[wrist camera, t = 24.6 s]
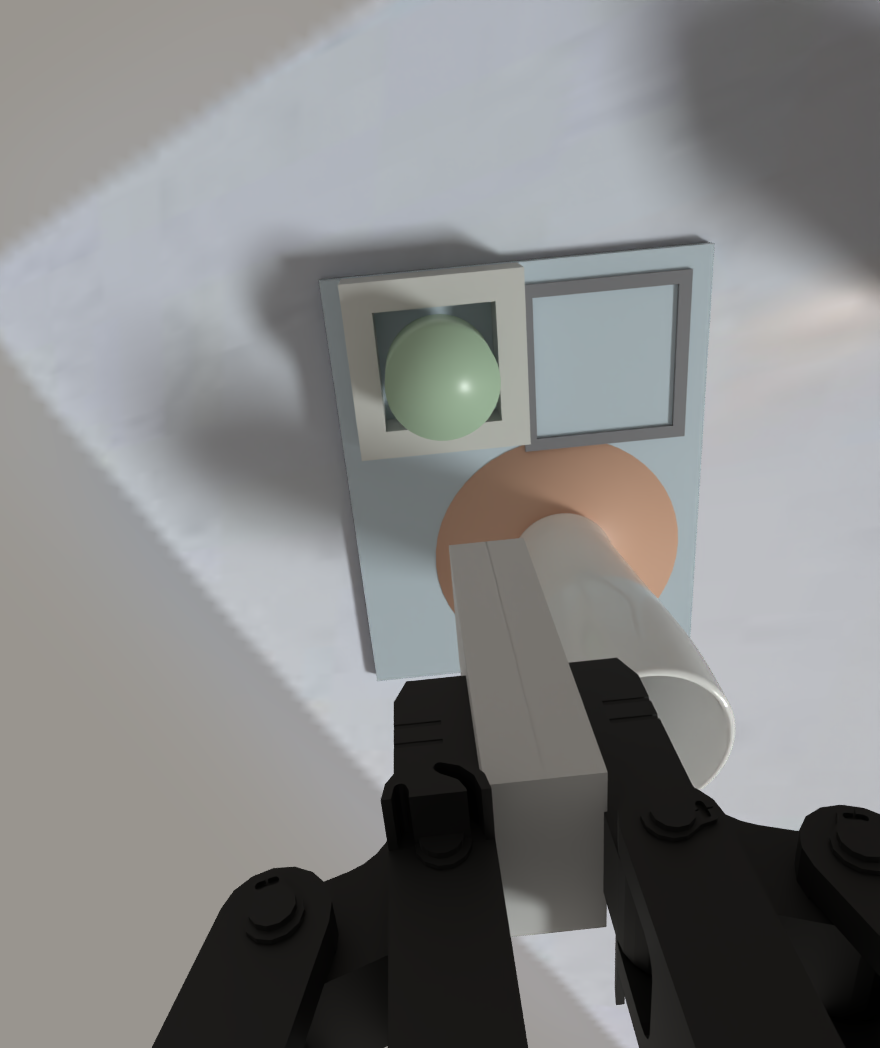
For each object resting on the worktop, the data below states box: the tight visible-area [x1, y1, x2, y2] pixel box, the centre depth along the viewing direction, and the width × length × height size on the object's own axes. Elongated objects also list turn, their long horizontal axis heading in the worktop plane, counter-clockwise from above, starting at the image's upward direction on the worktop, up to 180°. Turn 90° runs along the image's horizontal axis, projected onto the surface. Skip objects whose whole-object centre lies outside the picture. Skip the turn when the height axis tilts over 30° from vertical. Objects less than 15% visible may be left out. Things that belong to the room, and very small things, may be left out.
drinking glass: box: [519, 513, 735, 790], centre depth 34 cm, size 7×7×15 cm
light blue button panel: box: [319, 242, 715, 681], centre depth 39 cm, size 18×22×1 cm
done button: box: [385, 314, 501, 441], centre depth 33 cm, size 5×5×3 cm
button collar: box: [338, 262, 531, 461], centre depth 35 cm, size 8×8×2 cm
